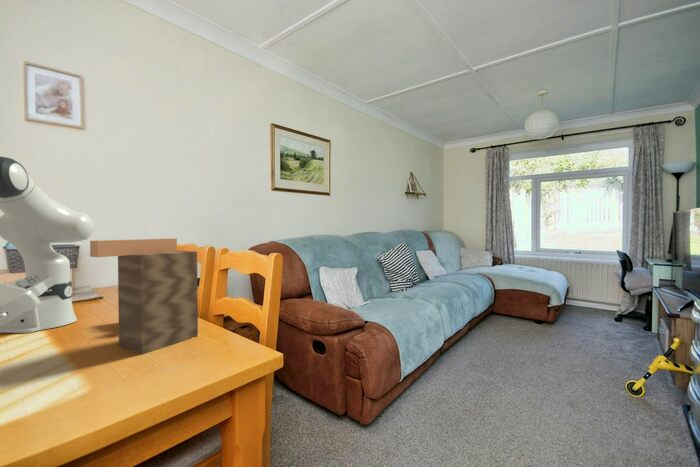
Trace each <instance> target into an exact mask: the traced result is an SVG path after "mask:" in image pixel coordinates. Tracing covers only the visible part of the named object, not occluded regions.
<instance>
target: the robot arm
mask: <svg viewBox="0 0 700 467" xmlns="http://www.w3.org/2000/svg"><path fill="white" fill-rule="evenodd" d="M0 211H1V212H2V213H3V214H2V215H1V216H0V237H1V238H2V239H3V240H5V241H7V242H8V243H9V244H10V245H12V246H13V247H15V248H16V250H17V251H18V253H19V254H20V256H21V258H22V260H23V263H24V270H25V276H24V277H22V278H19V279H17V280H14V281H11V282H9V283H5V282H1V281H0V334H1V333H2V334H3V333H9V334H10V333H11V334H12V333H13V334H15V333H17V334H19V333H20V334H22V333H23V334H24V333H25V334H28V333H33V332H38V331H41V330H48V329H53V328H58V327H63V326H66V325H69V324H72V323H75V322H76V321H78V318H77V316H76V314H75V310H74V306H73V301H72V296H73V282H72V280H71V262H70V259H69V258H68V257H67V256H66V255H64V254H62V253H58V252H57V251H56V250H55V249H54V248H53V246H52V244H57V243H58V244H59V243H60V244H67V243H75V242H82V241H86V240H88V239H89V238H91V236H92V235H93V233H94V231H95V223H94V221H93V219H92V218H91V216H89V214H87V213H85V212H80V211H77V210H74V209H72V208H70V207H68V206H66V205H64V204H62V203H60V202H58V201H56V200H54V199H53V198H52V197H50V196H48V195H47V194H46V193H45V191H44V190H42V188H41V187H40V186H39V185H38V184H37V183H36V182H35V180H33V178H32V177H31V176H30V174H28V172H27V170H26V168H25V167H24V166H23V164H21V163H20V162H18V161H17V160H15V159H13V158H10V157H7V156H5V155H3V154H0Z"/></svg>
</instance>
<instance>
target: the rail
mask: <svg viewBox="0 0 700 467" xmlns="http://www.w3.org/2000/svg"><path fill="white" fill-rule="evenodd" d="M177 239H178V238H170V237H169V238H143V239H141V238H137V239H135V238H134V239H104V240H102V239H101V240H89V252H90V253H89V254H90V255H89V256H90V257H91V258H92V257H93V258H107V257H118V256H125V255H139V254H154V253H169V252H177V250H178V242H177V241H178V240H177Z"/></svg>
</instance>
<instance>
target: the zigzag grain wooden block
mask: <svg viewBox="0 0 700 467" xmlns="http://www.w3.org/2000/svg"><path fill="white" fill-rule="evenodd" d="M117 281H118V282H117V283H118V284H117V288H118V289H117V291H118V292H117V293H118V295H117V298H118V302H117V303H118V347H121V348H123V349H127V350H129V351H131V352H134V353H137V354H140V355H145V354H148V353H151V352H154V351H157V350H160V349H163V348H166V347H168V346H172V345H176V344H178V343H181V341H182V342H184V341H188V340H191V339H193V338H192V337H194V336H197V335H198V336H199V331H198V329H199V328H198V326H199V323H198V322H199V321H198V318H199V317H198V315H199V313H198V312H199V311H198V302H199V301H198V251H193V250H192V251H191V250H190V251H189V250H178V249H177V252H169V253H154V254H139V255H125V256H117ZM198 336H197V337H198ZM190 338H191V339H190ZM194 338H195V337H194ZM187 339H188V340H187Z"/></svg>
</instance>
